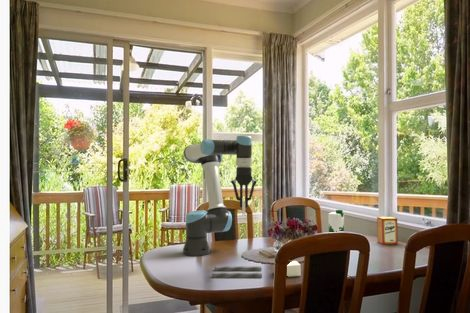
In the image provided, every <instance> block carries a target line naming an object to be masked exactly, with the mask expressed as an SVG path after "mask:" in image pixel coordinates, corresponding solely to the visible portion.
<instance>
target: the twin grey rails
mask: <svg viewBox="0 0 470 313" xmlns="http://www.w3.org/2000/svg"><path fill="white" fill-rule="evenodd" d="M262 270H263V269H262V266H251V265H250V266H246V265H245V266H243V265H242V266H239V265H238V266H237V265H235V266H232V265H231V266H230V265H229V266H228V265H227V266H225V265H224V266H223V265H221V266H220V265H218V266H217V265H216V266H214V271H215V272H212V273H211V277H212V278H218V279H219V278H222V279H223V278H228V279H229V278H230V279H231V278H233V279H234V278H235V279H236V278H239V279H240V278H242V279H243V278H247V279H249V278H250V279H251V278H253V279H256V278H257V279H258V278H260V279H261V278H263V273H262ZM216 271H217V272H216ZM228 271H229V272H228Z"/></svg>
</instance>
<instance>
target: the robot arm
mask: <svg viewBox="0 0 470 313" xmlns="http://www.w3.org/2000/svg"><path fill="white" fill-rule="evenodd" d="M252 148H253V142H252V136H250V135H237V136H236V139H203V140H201V142H200V143H198V144H197V143H195V144H189V145H187V146H186V147H185V148H184V150H183V157H184V159H185V160H186V161H187V162H189V163H192V164H200V165H201V168H202V169H203V170H204V176H205V185H206V192H207V198H208V208H207V210H204V209H202V210H193V211H190V212H188V213H186V216H185V242H184V245H183V248H182V254H183V255H184V254H185V255H184V256H190V257H200V256H206V255H208V254H210V253H211V248H210V245H209V242H208V238H207V236H208V234H211V233H223V232H228V231H229V230H230V229H231V227H232V223H233V217H232V216H233V215H232V212H231V211H229V210H228V208H227V206H226V205H224V199H223V191H222V183H221V177H220V171H219V167H220V166H221V163H222V161H223V155H227V156H228V155H229V156H231V155H232V156H235V155H236V157H235V158H236V162H235V163H236V169H235V170H236V171H235V172H236V173H235V174H236V175H235V178H234V179H232V180H230V183H231V184H232V186H233V191H234V194H235V199H236V200H237V201H239V208H241V210H242V211H241V213H242V214H241V215H246V208H248V207H249V206H248V205H249V204H248V203H249V201H251V200H252V198H253V193H254V191H255V190H254V189H255V186H256V184H257V183H258V182H257V180H256V179H254V178H253V175H252V173H253V172H252V170H253V169H252V152H253V150H252ZM236 184H238V185H239V192H238V189H237V185H236ZM249 184H252V185H251V187H250V188H251V189H250V192H249V188H248V186H249ZM243 186H244V187H245V188H243ZM243 190H244V192H245V193H244V192H243ZM248 192H249V193H248ZM243 194H244V200H243ZM248 194H249V195H248ZM248 196H249V197H248Z"/></svg>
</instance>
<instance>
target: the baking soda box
mask: <svg viewBox="0 0 470 313" xmlns="http://www.w3.org/2000/svg"><path fill="white" fill-rule="evenodd" d="M376 220H377V221H376V224H377V225H376V227H377V228H376V230H377V243H378V244H381V245H398V244H399V241H398V237H399V236H398V218H396V217H394V216H377V217H376Z"/></svg>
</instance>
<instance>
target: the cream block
mask: <svg viewBox="0 0 470 313" xmlns="http://www.w3.org/2000/svg"><path fill="white" fill-rule="evenodd" d="M291 261H292V262H290V263H289V264H288V265H287V276H288V277H301V276H302V274H301V273H302V272H301V271H302V265H301V264H300V263H299V262H298V261H297V260H291Z"/></svg>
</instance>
